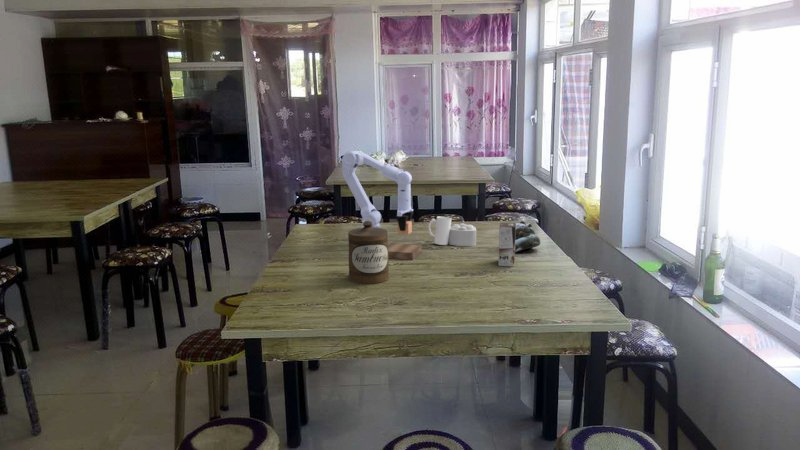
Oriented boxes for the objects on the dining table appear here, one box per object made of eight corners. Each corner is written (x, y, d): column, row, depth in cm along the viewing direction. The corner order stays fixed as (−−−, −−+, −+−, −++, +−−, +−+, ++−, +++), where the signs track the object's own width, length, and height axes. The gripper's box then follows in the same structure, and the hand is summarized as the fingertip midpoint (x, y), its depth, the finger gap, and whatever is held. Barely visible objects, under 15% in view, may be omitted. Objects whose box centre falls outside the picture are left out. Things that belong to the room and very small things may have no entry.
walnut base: (381, 257, 271) (380, 250, 270) (391, 249, 284) (391, 243, 283) (412, 260, 266) (412, 253, 266) (422, 252, 279) (422, 245, 279)
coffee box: (514, 266, 255) (515, 227, 252) (498, 266, 256) (499, 226, 253) (515, 260, 264) (516, 222, 261) (499, 260, 265) (500, 221, 262)
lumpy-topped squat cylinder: (476, 246, 288) (476, 227, 287) (447, 245, 289) (447, 226, 287) (475, 241, 299) (475, 222, 297) (447, 240, 299) (447, 222, 298)
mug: (449, 243, 295) (452, 218, 293) (447, 246, 289) (450, 220, 287) (427, 240, 297) (431, 214, 295) (425, 242, 290) (428, 216, 288)
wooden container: (353, 285, 232) (352, 226, 227) (345, 274, 246) (344, 218, 241) (393, 282, 236) (392, 223, 231) (383, 271, 250) (382, 216, 245)
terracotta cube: (397, 233, 285) (397, 222, 284) (401, 231, 290) (401, 220, 289) (408, 234, 283) (408, 223, 282) (411, 232, 288) (411, 221, 287)
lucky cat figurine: (508, 254, 274) (498, 223, 278) (508, 258, 286) (499, 228, 289) (542, 244, 273) (532, 213, 276) (541, 249, 284) (532, 219, 288)
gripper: (408, 202, 275) (408, 233, 278) (417, 197, 289) (417, 226, 292) (392, 201, 278) (392, 232, 280) (402, 196, 291) (402, 225, 294)
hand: (404, 229), depth 286 cm, fingers closed on terracotta cube, 5 cm apart
